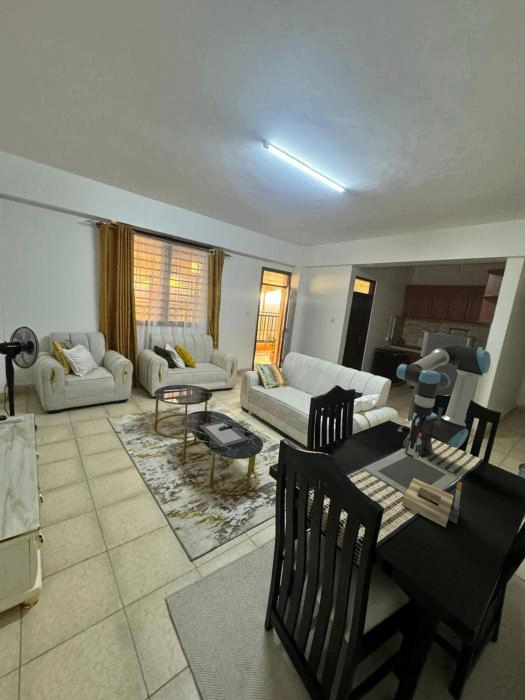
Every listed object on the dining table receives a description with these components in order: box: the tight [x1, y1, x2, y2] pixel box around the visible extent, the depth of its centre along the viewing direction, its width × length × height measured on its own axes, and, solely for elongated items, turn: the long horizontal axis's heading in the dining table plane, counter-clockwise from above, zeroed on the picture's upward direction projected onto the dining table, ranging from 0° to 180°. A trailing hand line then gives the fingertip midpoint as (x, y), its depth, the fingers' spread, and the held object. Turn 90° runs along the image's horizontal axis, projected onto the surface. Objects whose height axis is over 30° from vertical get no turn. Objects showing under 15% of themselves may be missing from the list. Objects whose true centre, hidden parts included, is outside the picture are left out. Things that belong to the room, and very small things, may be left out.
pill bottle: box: [404, 433, 423, 460], centre depth 128 cm, size 6×6×11 cm
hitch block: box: [401, 477, 461, 528], centre depth 119 cm, size 18×19×4 cm
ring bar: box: [453, 480, 463, 513], centre depth 113 cm, size 4×1×14 cm, turn 140°
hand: (412, 451), depth 128 cm, fingers closed on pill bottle, 6 cm apart
